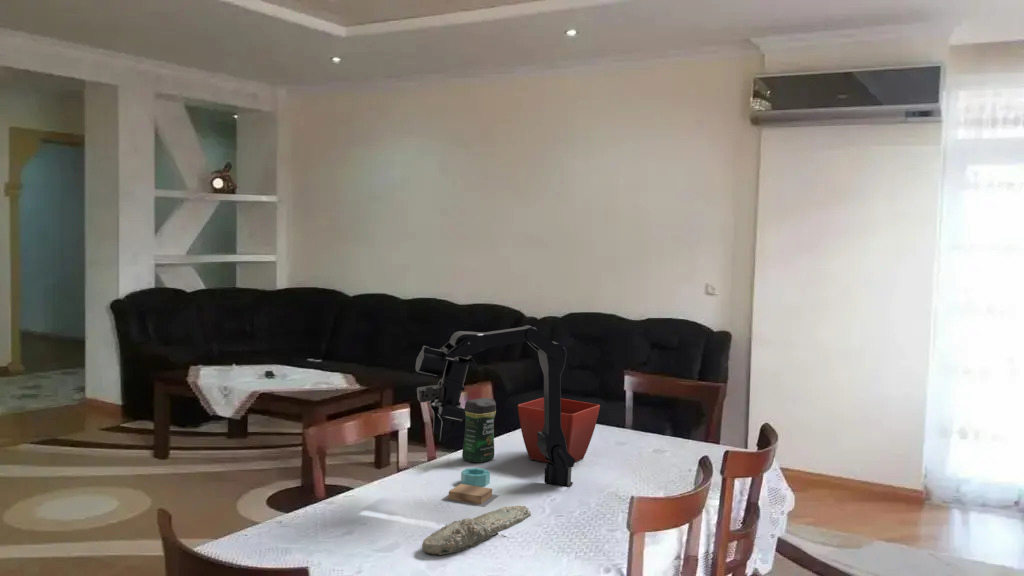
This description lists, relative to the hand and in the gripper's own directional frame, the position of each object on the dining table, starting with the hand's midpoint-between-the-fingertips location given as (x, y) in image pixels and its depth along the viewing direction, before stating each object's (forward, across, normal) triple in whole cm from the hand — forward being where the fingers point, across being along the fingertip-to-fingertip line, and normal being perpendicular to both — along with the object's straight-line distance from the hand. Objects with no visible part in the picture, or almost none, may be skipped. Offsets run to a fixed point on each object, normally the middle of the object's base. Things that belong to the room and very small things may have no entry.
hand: (438, 437), depth 221 cm
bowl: (+12, -6, +15) cm, 20 cm away
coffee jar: (+10, -32, +22) cm, 40 cm away
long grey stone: (+15, +29, +8) cm, 34 cm away
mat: (+13, +6, +11) cm, 18 cm away
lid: (+12, +6, +11) cm, 17 cm away
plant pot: (+5, -29, +45) cm, 53 cm away
